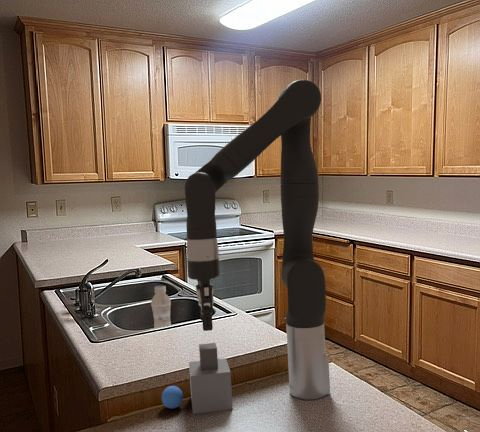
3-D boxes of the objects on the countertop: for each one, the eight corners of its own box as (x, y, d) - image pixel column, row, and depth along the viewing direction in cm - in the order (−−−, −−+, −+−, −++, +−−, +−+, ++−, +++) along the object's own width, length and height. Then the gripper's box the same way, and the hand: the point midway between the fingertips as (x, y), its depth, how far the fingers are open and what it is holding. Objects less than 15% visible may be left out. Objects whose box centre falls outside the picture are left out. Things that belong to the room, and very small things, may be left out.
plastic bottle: (170, 348, 152) (166, 288, 151) (150, 348, 154) (146, 288, 153) (176, 342, 159) (173, 284, 158) (158, 342, 160) (154, 284, 159)
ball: (183, 401, 112) (182, 381, 112) (183, 410, 107) (182, 389, 107) (162, 404, 112) (161, 383, 111) (162, 413, 107) (160, 392, 106)
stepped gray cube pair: (227, 392, 116) (224, 338, 115) (232, 409, 107) (229, 350, 106) (191, 396, 115) (187, 342, 114) (192, 414, 106) (189, 354, 105)
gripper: (222, 260, 103) (225, 332, 103) (215, 252, 117) (219, 316, 118) (188, 262, 102) (191, 335, 102) (186, 254, 116) (189, 318, 116)
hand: (206, 325), depth 110 cm, fingers open, 8 cm apart
